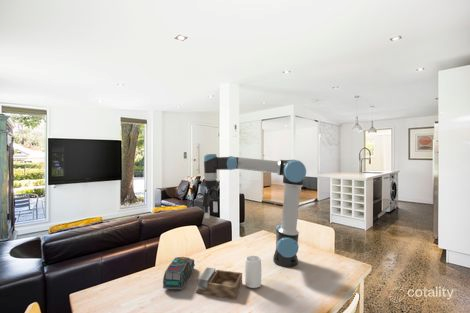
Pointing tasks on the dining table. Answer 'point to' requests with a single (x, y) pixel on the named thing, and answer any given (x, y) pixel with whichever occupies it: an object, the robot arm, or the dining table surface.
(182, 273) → the toy van
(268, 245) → the dining table surface
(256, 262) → the cup
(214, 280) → the wooden open tray
